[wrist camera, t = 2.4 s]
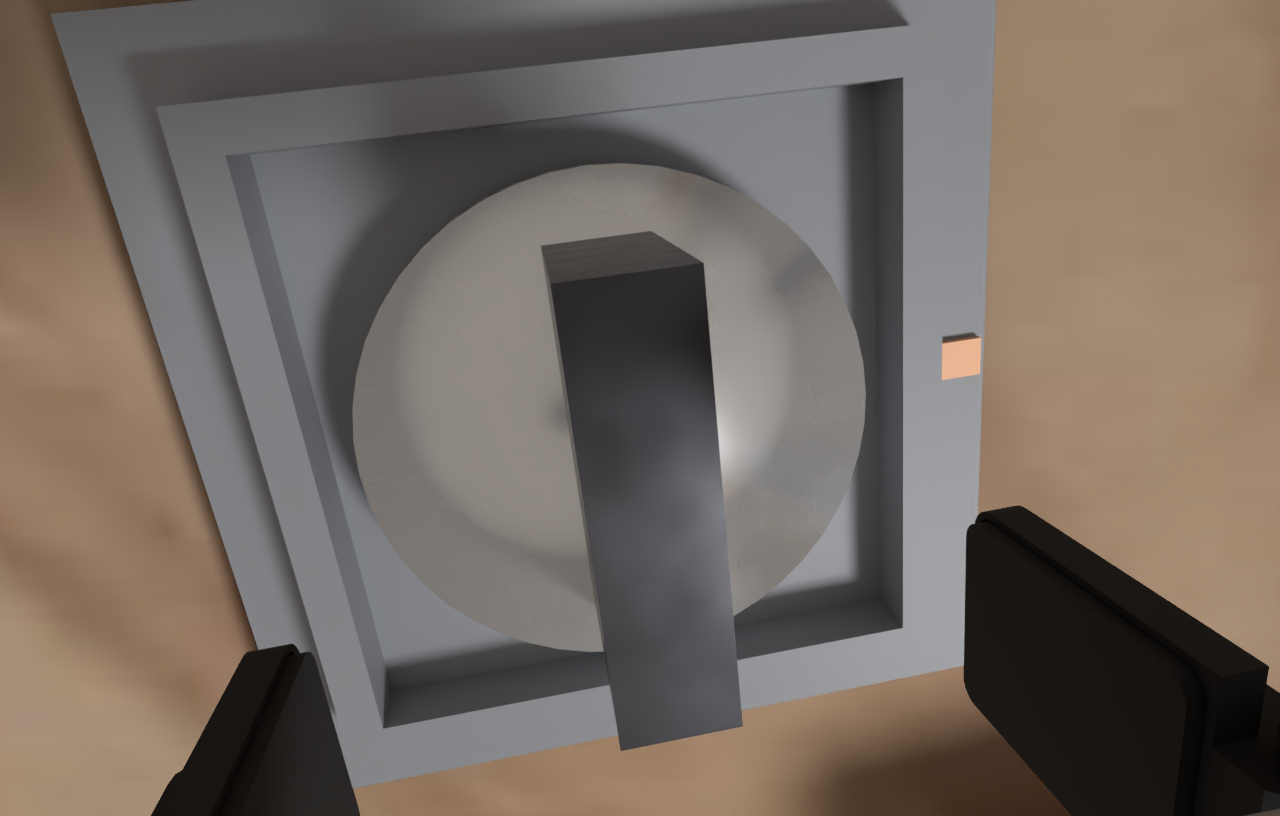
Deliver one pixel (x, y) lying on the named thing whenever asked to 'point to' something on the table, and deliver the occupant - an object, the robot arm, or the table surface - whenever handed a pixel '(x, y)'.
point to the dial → (613, 424)
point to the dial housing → (459, 177)
